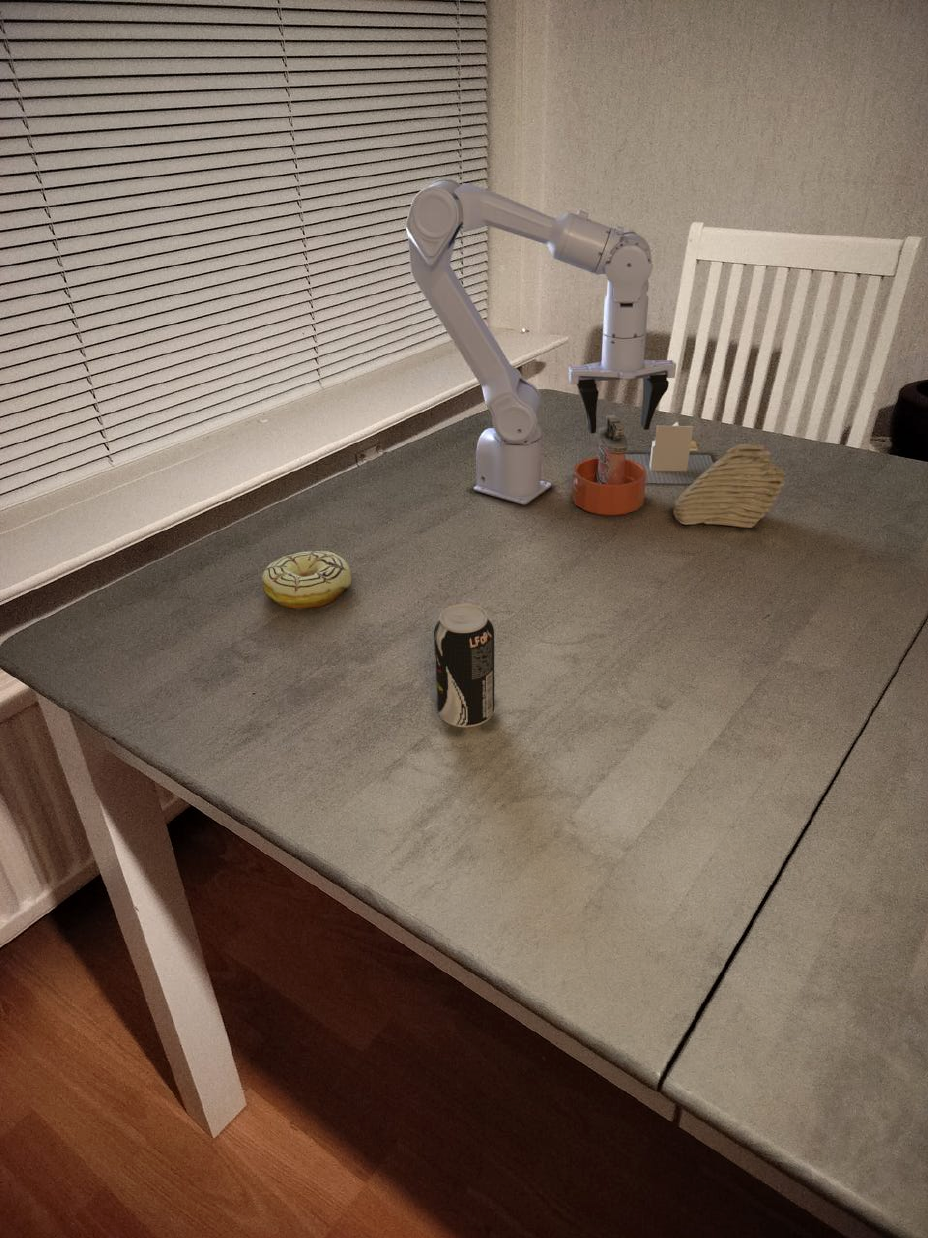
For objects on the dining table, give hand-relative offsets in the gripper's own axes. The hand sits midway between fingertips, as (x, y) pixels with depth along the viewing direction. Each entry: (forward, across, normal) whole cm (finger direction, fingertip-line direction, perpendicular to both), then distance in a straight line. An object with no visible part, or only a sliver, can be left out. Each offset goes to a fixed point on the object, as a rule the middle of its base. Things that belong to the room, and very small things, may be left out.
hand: (618, 429), depth 119 cm
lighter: (+8, -1, -2) cm, 8 cm away
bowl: (+10, -2, -2) cm, 11 cm away
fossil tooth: (+11, +14, -10) cm, 20 cm away
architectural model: (+11, +10, +9) cm, 17 cm away
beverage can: (+10, -25, -48) cm, 56 cm away
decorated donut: (+10, -44, -23) cm, 50 cm away
